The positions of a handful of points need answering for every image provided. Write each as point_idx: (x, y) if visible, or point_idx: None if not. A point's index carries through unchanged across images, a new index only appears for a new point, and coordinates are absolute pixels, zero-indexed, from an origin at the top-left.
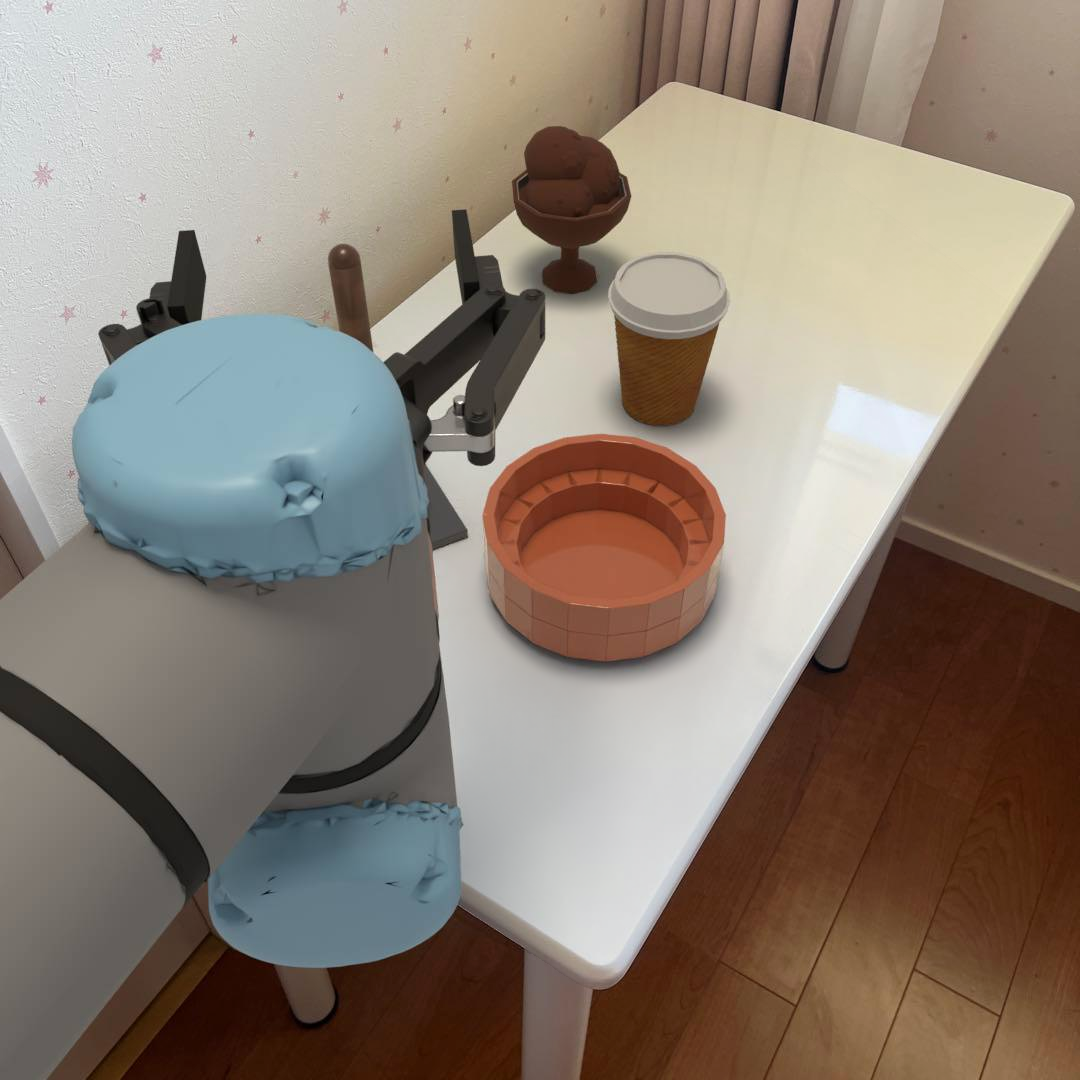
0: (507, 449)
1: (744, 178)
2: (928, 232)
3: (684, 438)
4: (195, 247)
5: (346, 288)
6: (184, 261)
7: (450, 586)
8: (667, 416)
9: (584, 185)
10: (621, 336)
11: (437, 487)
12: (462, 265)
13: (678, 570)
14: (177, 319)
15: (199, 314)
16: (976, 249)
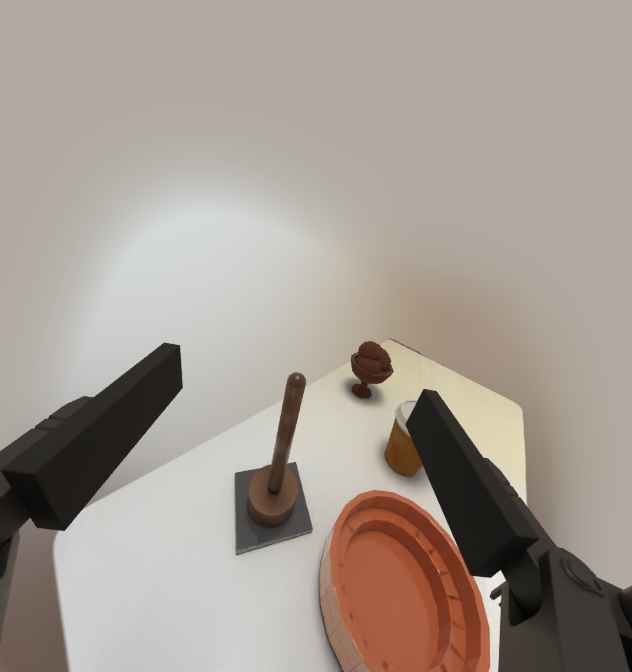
0: (335, 471)
1: (414, 371)
2: (480, 406)
3: (414, 486)
4: (171, 362)
5: (293, 398)
6: (132, 379)
7: (296, 577)
8: (408, 472)
9: (379, 363)
10: (398, 434)
11: (301, 490)
12: (487, 485)
13: (433, 606)
14: (25, 488)
15: (128, 445)
16: (500, 417)
